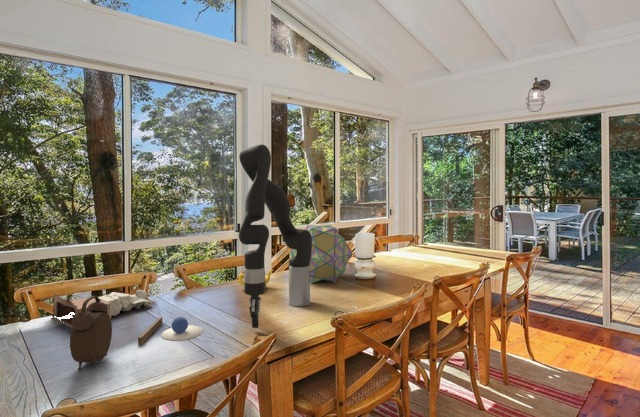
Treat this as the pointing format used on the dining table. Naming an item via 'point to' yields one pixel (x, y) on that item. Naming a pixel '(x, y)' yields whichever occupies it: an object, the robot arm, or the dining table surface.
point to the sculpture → (326, 253)
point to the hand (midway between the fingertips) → (255, 327)
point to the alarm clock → (91, 333)
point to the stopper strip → (149, 331)
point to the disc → (187, 334)
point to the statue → (112, 301)
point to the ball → (179, 325)
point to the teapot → (265, 278)
